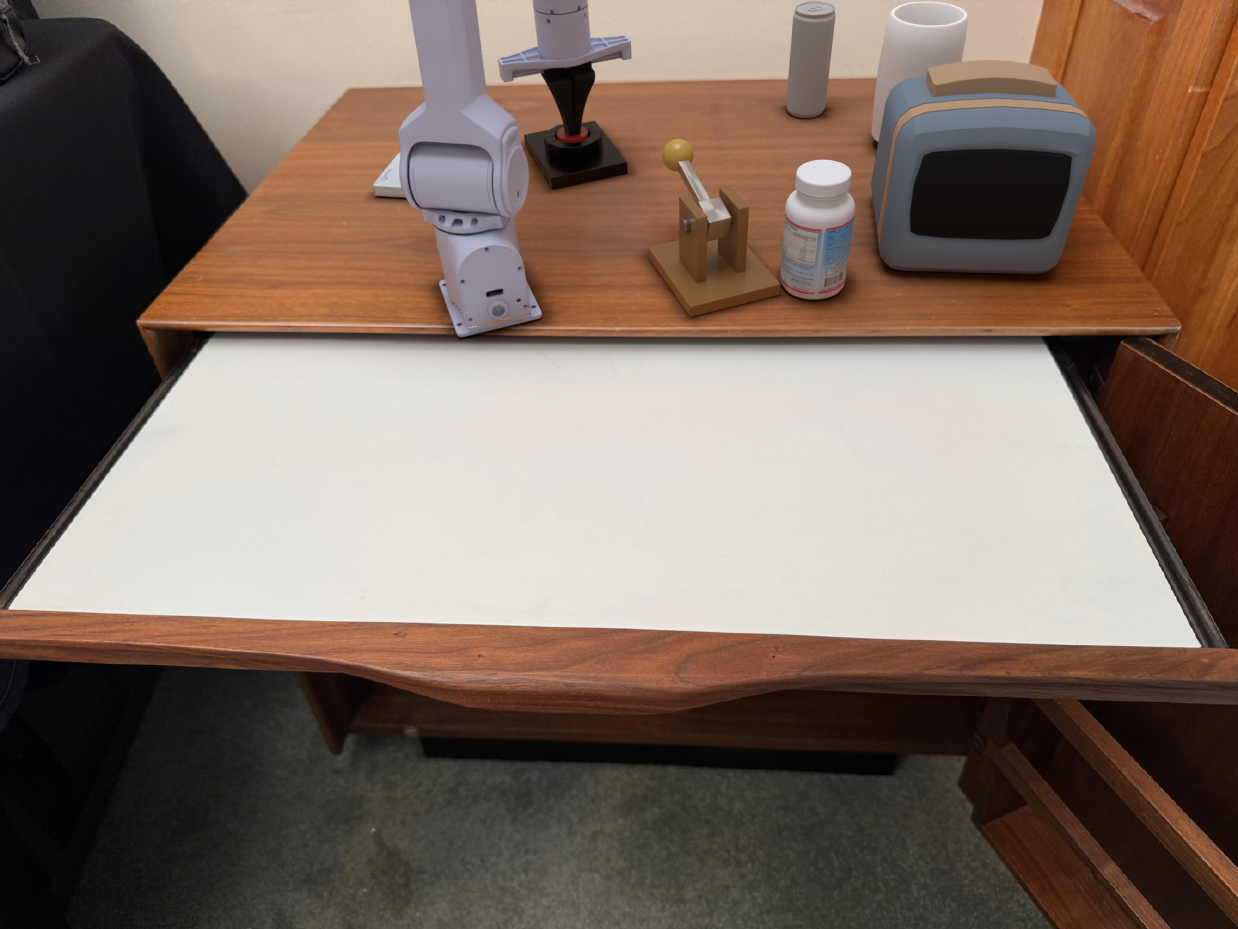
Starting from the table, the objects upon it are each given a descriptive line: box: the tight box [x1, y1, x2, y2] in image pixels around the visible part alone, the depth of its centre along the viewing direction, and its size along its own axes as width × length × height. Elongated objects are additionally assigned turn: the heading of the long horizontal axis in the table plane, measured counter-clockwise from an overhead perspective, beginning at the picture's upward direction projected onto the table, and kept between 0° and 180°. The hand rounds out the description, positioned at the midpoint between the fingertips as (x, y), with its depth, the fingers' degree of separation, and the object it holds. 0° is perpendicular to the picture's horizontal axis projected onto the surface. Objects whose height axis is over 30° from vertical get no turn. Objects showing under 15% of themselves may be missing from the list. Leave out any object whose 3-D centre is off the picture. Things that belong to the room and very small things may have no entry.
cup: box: [870, 0, 969, 143], centre depth 97 cm, size 8×8×14 cm
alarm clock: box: [870, 59, 1097, 275], centre depth 82 cm, size 16×16×16 cm
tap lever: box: [661, 138, 732, 242], centre depth 83 cm, size 12×3×3 cm, turn 19°
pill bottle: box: [779, 159, 856, 300], centre depth 79 cm, size 6×6×11 cm
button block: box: [523, 120, 629, 190], centre depth 102 cm, size 12×9×3 cm
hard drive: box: [372, 152, 406, 199], centre depth 101 cm, size 2×8×12 cm
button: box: [557, 126, 589, 143], centre depth 102 cm, size 4×4×2 cm
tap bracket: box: [647, 185, 782, 318], centre depth 82 cm, size 11×9×8 cm
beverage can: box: [785, 0, 836, 119], centre depth 105 cm, size 5×5×12 cm
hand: (572, 132), depth 101 cm, fingers closed, pressing on button
